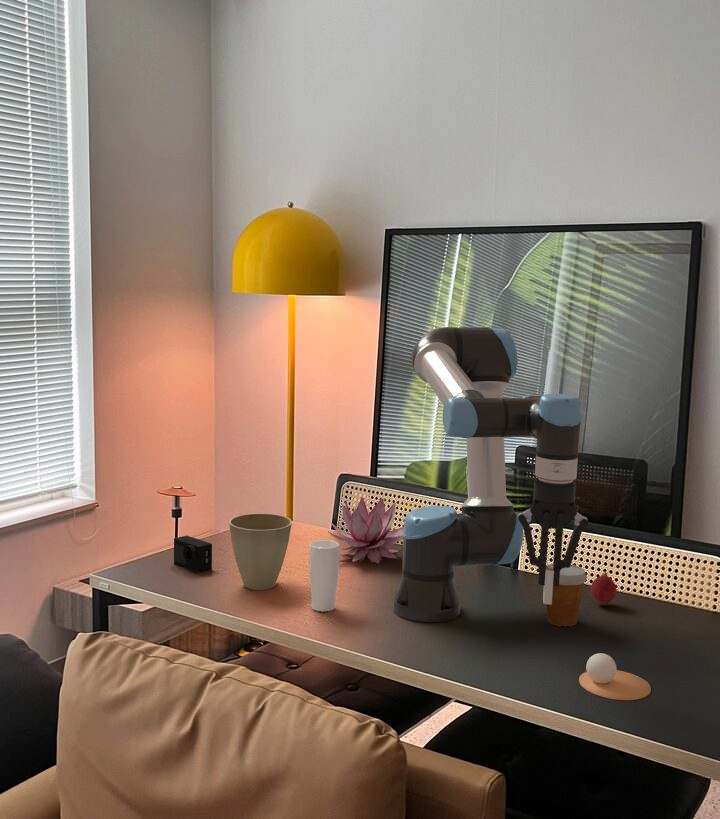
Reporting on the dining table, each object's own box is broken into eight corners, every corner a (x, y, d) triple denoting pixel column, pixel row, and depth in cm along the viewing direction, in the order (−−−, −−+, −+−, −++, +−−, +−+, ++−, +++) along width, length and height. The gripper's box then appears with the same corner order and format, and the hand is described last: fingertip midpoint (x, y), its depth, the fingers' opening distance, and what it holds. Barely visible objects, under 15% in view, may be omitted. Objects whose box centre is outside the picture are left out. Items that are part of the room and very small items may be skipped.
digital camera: (169, 565, 238) (169, 538, 237) (186, 560, 242) (186, 534, 241) (194, 574, 231) (194, 547, 230) (212, 570, 235) (212, 543, 234)
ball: (623, 683, 172) (595, 692, 171) (614, 672, 177) (586, 680, 177) (616, 656, 171) (587, 664, 171) (607, 645, 176) (579, 653, 176)
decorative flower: (408, 572, 237) (410, 514, 235) (325, 569, 237) (326, 512, 235) (406, 547, 258) (407, 495, 256) (329, 545, 258) (330, 492, 256)
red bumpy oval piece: (616, 610, 213) (618, 577, 212) (590, 608, 214) (592, 575, 213) (614, 602, 218) (616, 569, 217) (589, 600, 220) (591, 567, 218)
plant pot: (216, 590, 220) (217, 524, 217) (247, 572, 233) (248, 510, 231) (273, 599, 214) (274, 532, 212) (301, 580, 228) (302, 517, 226)
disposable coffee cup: (534, 614, 209) (537, 562, 208) (576, 614, 210) (579, 562, 208) (546, 630, 200) (549, 576, 198) (589, 629, 201) (593, 576, 199)
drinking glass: (343, 606, 211) (344, 542, 209) (329, 615, 205) (331, 550, 203) (316, 601, 214) (318, 538, 212) (302, 610, 208) (304, 545, 205)
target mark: (581, 696, 168) (581, 695, 168) (576, 667, 181) (576, 666, 181) (655, 703, 166) (656, 702, 166) (645, 673, 179) (645, 672, 179)
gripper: (519, 481, 167) (512, 605, 171) (593, 486, 165) (584, 612, 169) (519, 472, 175) (512, 591, 178) (590, 476, 173) (581, 597, 176)
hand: (547, 601), depth 174 cm, fingers closed
